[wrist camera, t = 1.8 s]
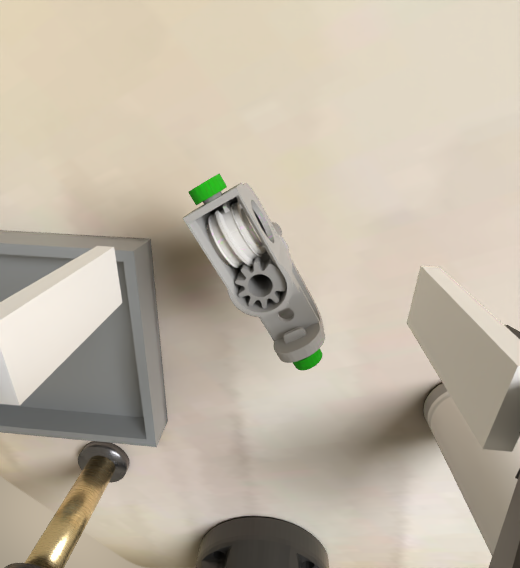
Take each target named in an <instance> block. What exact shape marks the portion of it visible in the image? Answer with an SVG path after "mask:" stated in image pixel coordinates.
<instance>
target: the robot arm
mask: <svg viewBox="0 0 520 568" xmlns="http://www.w3.org/2000/svg"><path fill="white" fill-rule="evenodd" d="M121 304H122V297H121V290H120V283H119V277H118V270H117V263H116V257H115V250H114V247H108V246H96V247H94V248H93V249H91V250H89V251H88V252H86V253H84V254H82V255H81V256H79V257H77V258H75V259H74V260H72V261H70V262H69V263H67V264H65V265H63V266H62V267H60V268H58V269H57V270H55V271H53V272H51V273H50V274H48V275H46V276H45V277H43V278H41V279H39V280H38V281H36V282H34V283H32V284H31V285H29V286H27V287H26V288H24V289H22V290H20V291H19V292H17V293H15V294H14V295H12V296H10V297H8V298H6V299H4V300H3V301H1V302H0V404H8V405H19V406H20V405H21V404H22V403H23V402H24V401H25V400H26V399H27V398H28V397H29V396H30V395H31V394H32V393H33V392H34V391H35V390H36V389H37V388H38V387H39V386H40V385H41V384H42V383H43V382H44V381H45V380H46V379H47V378H48V377H49V376H50V375H51V374H52V373H53V372H54V371H55V370H56V369H57V368H58V367H59V366H60V365H61V364H62V363H63V362H64V361H65V360H66V359H67V358H68V357H69V356H70V355H71V354H72V353H73V352H74V351H75V350H76V349H77V348H78V347H79V346H80V345H81V344H82V343H83V342H84V341H85V340H86V339H87V338H88V337H89V336H90V335H91V334H92V333H93V332H94V331H95V330H96V329H97V328H98V327H99V326H100V325H101V324H102V323H103V322H104V321H105V320H106V319H107V318H108V317H109V316H110V315H111V314H112V313H113V312H114V311H115V310H116V309H117V308H118V307H119V306H120V305H121ZM407 324H408V326H409V328H410V329H411V331H412V333H413V334H414V336H415V338H416V339H417V341H418V343H419V344H420V346H421V348H422V349H423V351H424V353H425V354H426V356H427V358H428V359H429V361H430V363H431V364H432V366H433V368H434V369H435V371H436V373H437V374H438V376H439V378H440V379H441V381H442V383H443V384H444V386H445V388H446V389H447V391H448V393H449V394H450V396H451V398H452V399H453V401H454V402H455V404H456V406H457V407H458V409H459V411H460V412H461V414H462V416H463V417H464V419H465V421H466V422H467V424H468V426H469V427H470V429H471V431H472V432H473V434H474V436H475V437H476V439H477V441H478V442H479V444H480V446H481V447H482V449H487V450H498V451H509V452H512V451H513V449H514V447H515V445H516V443H517V441H518V439H519V437H520V332H519V331H517V330H516V329H514V328H512V327H510V326H508V325H503V324H502V323H501V322H500V321H499V320H498V319H497V318H496V317H495V316H493V315H492V314H491V313H490V312H489V311H488V310H487V309H486V308H485V307H484V306H482V305H481V304H480V303H479V302H478V301H477V300H476V299H475V298H474V297H473V296H471V295H470V294H469V293H468V292H467V291H466V290H465V289H464V288H463V287H462V286H460V285H459V284H458V283H457V282H456V281H455V280H454V279H453V278H452V277H450V276H449V275H448V274H447V273H446V272H445V271H444V270H443V269H442V268H441V267H434V266H421V267H420V271H419V275H418V279H417V283H416V287H415V291H414V295H413V300H412V304H411V308H410V312H409V316H408V320H407ZM515 478H516V479H518V481H517V484H516V487H515V490H514V493H513V496H512V499H511V502H510V505H509V508H508V511H507V514H506V517H505V520H504V523H503V526H502V529H501V532H500V535H499V538H498V541H497V544H496V547H495V550H494V553H493V556H492V559H491V562H490V565H489V568H520V469H519V471H518V473H517V475H516V476H515ZM196 568H329V561H328V555H327V553H326V550H325V548H324V547H323V545H322V544H321V543H320V542H319V541H318V540H317V539H316V538H315V537H314V536H313V535H312V534H310V533H309V532H307V531H306V530H304V529H302V528H300V527H298V526H296V525H293V524H291V523H288V522H285V521H281V520H277V519H271V518H263V517H247V518H239V519H234V520H230V521H227V522H224V523H222V524H219V525H217V526H216V527H214V528H213V529H211V530H210V531H209V532H208V533H207V534H206V535H205V536H204V538H203V539H202V541H201V544H200V548H199V553H198V557H197V562H196Z"/></svg>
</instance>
